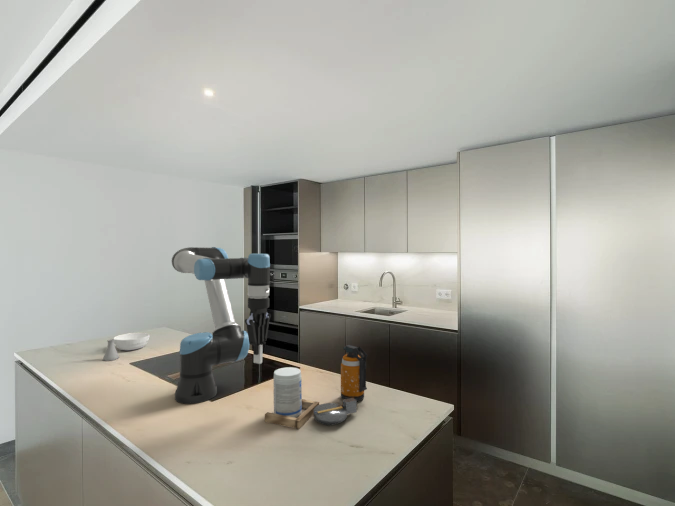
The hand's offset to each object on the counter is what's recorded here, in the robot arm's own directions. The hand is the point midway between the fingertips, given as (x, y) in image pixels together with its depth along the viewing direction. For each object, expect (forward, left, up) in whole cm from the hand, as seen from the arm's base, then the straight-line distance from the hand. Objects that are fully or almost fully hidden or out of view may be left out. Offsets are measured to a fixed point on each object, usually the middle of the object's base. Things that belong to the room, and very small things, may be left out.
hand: (258, 362), depth 125 cm
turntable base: (+28, +1, -16) cm, 32 cm away
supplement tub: (+12, 0, -17) cm, 20 cm away
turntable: (+29, +3, -15) cm, 33 cm away
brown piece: (+14, 0, -16) cm, 21 cm away
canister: (+30, +20, -16) cm, 39 cm away
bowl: (-112, +38, -17) cm, 120 cm away
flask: (-104, +20, -17) cm, 108 cm away
